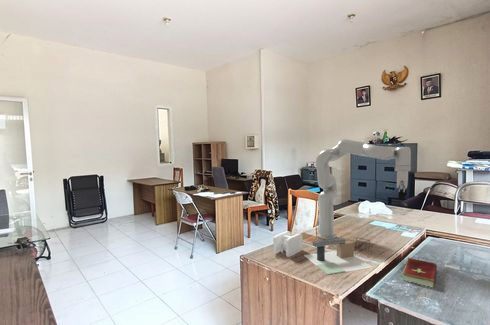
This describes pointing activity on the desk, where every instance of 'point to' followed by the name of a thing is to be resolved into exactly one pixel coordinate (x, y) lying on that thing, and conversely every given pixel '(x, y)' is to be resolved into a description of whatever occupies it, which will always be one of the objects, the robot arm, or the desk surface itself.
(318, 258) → the cable plug
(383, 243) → the desk surface
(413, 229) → the desk surface
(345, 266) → the cable panel
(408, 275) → the hardcover book
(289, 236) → the cable organizer
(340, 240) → the bar
